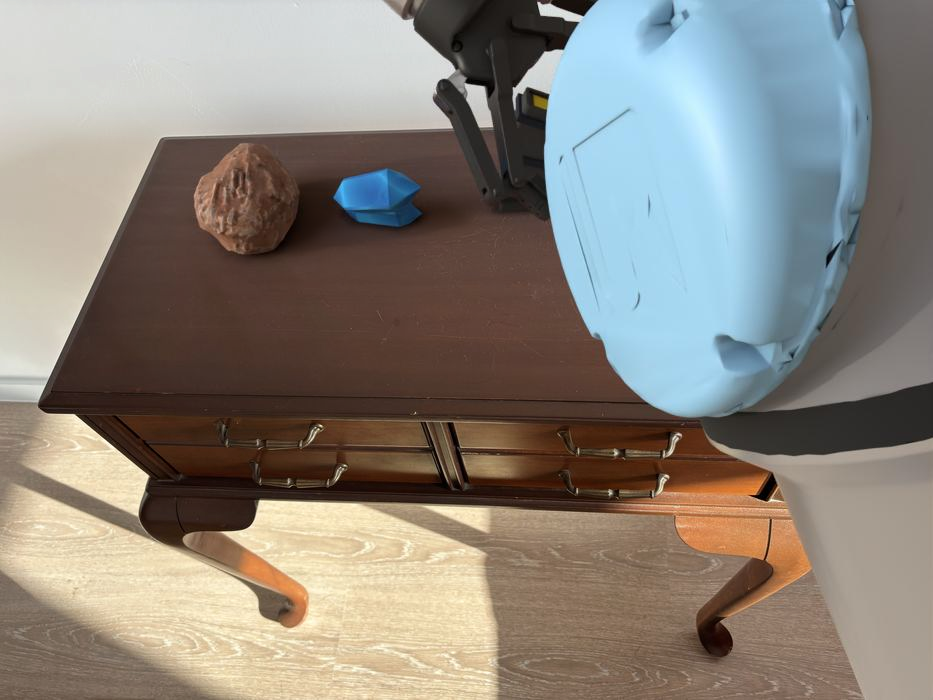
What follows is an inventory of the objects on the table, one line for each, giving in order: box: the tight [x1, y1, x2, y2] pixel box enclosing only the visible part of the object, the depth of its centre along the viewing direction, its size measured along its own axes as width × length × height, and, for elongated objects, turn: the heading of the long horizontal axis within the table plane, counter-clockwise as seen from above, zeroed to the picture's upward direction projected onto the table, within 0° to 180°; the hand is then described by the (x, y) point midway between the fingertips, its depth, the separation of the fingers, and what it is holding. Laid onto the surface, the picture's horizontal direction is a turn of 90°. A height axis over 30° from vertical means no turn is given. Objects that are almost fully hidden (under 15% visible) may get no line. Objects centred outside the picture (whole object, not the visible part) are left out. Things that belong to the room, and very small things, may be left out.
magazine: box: [498, 86, 550, 212], centre depth 77 cm, size 4×13×15 cm, turn 89°
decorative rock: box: [193, 142, 301, 256], centre depth 80 cm, size 13×11×10 cm
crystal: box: [333, 168, 422, 228], centre depth 79 cm, size 7×9×12 cm
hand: (641, 172), depth 56 cm, fingers open, 13 cm apart
